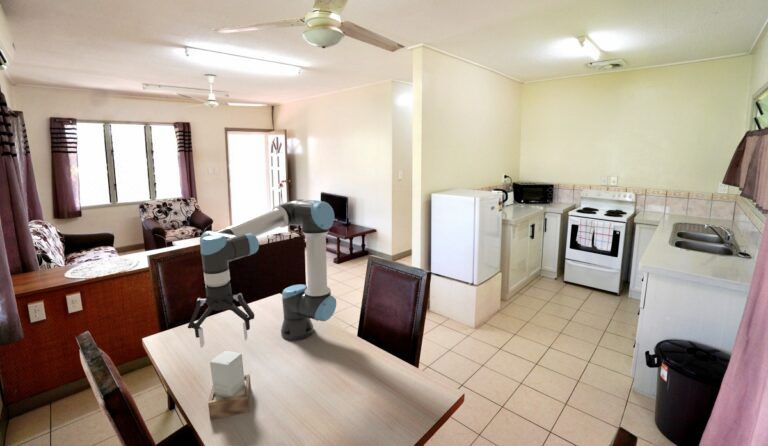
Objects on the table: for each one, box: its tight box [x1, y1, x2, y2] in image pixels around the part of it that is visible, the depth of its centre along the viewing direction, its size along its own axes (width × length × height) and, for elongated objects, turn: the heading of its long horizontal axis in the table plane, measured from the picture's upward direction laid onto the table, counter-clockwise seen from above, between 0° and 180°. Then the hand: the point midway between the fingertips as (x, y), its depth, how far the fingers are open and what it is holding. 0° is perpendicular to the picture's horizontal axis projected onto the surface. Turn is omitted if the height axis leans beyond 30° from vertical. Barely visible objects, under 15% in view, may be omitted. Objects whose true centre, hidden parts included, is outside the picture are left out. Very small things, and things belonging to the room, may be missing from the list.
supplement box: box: [209, 350, 245, 398], centre depth 122 cm, size 7×7×13 cm
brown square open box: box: [207, 373, 252, 420], centre depth 124 cm, size 12×12×6 cm
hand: (224, 341), depth 121 cm, fingers open, 13 cm apart
